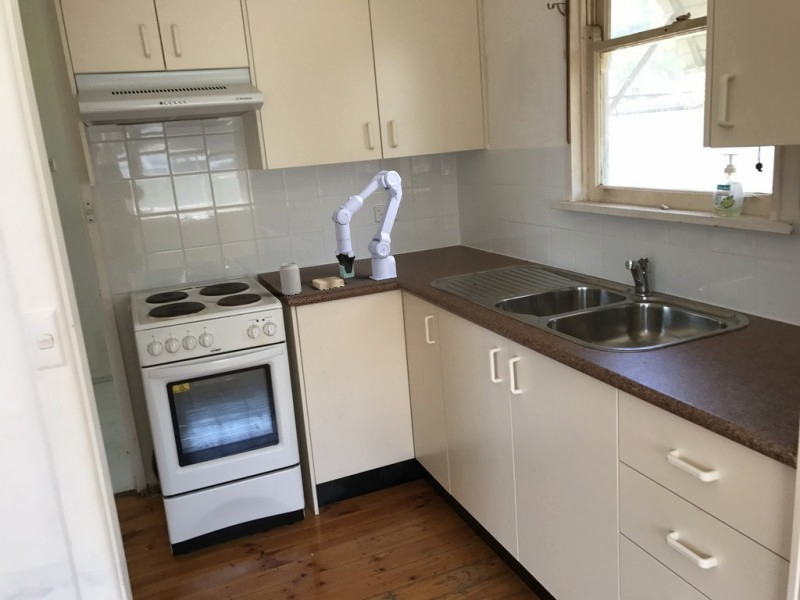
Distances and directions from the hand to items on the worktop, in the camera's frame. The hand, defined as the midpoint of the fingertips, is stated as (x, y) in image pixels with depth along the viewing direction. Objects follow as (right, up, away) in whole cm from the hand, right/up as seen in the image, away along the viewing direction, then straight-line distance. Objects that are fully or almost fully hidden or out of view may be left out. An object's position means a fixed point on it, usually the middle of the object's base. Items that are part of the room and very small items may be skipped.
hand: (347, 272), depth 268 cm
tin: (0, -2, 0) cm, 2 cm away
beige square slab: (-7, -6, -1) cm, 10 cm away
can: (-21, -9, -10) cm, 25 cm away
